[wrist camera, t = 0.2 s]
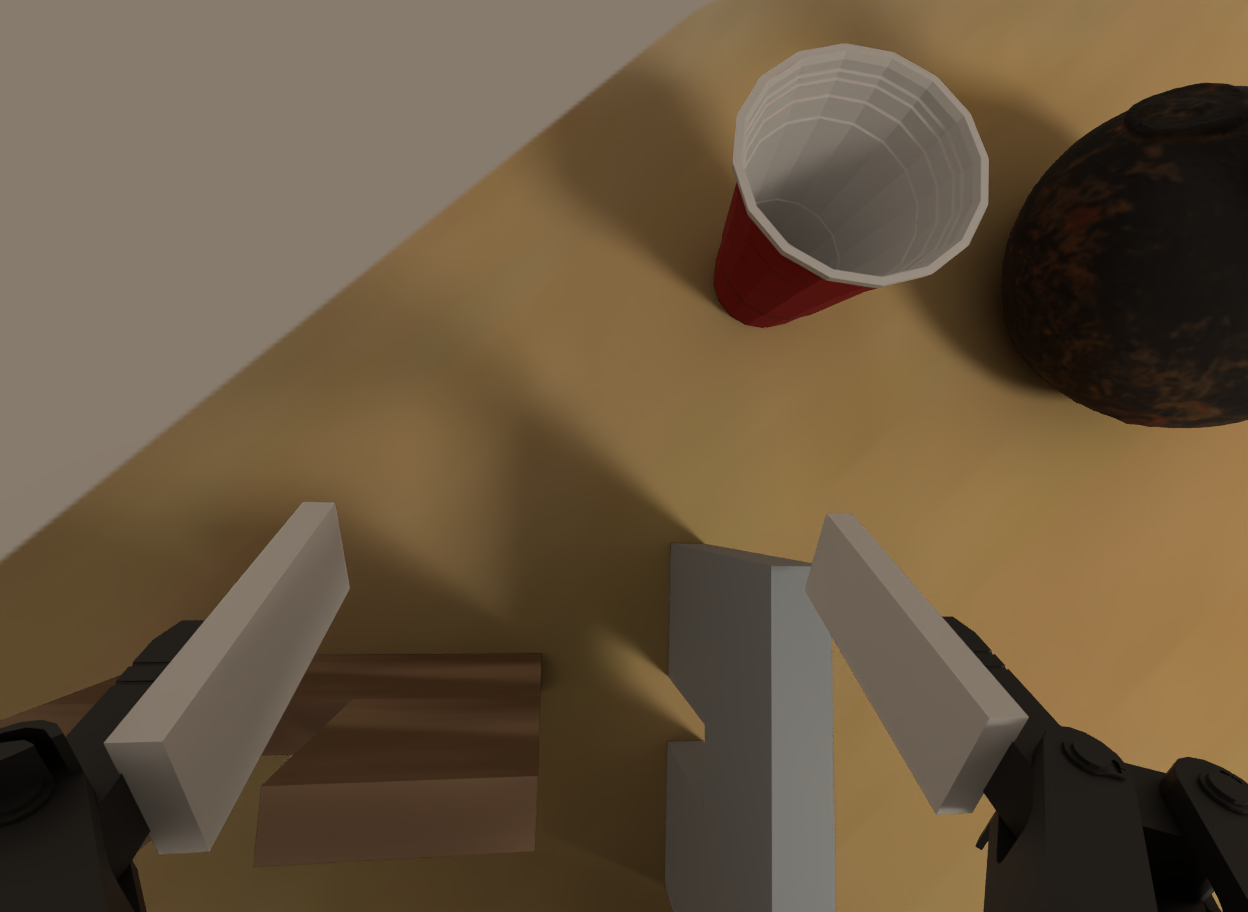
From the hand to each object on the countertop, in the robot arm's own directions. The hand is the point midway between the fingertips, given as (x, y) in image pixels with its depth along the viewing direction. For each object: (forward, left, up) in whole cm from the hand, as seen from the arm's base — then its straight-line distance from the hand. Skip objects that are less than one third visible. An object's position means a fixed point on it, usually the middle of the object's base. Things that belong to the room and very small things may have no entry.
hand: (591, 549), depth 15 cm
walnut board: (-7, +10, -16) cm, 20 cm away
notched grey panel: (-9, -7, -16) cm, 19 cm away
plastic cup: (+16, -11, -16) cm, 25 cm away
